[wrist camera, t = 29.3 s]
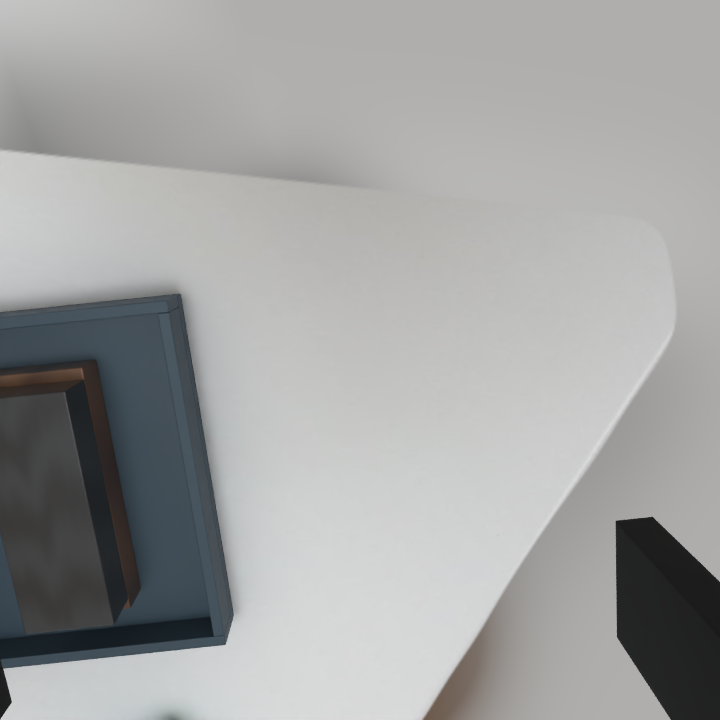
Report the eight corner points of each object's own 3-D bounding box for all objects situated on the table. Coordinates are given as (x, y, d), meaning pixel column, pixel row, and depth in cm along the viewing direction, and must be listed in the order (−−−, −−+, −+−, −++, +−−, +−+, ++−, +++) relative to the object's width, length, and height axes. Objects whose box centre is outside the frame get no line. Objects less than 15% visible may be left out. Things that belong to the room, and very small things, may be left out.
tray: (-100, 322, 44) (-137, 331, 41) (180, 293, 44) (167, 300, 41) (-14, 642, 50) (-40, 673, 46) (233, 615, 50) (225, 645, 46)
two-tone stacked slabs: (96, 359, 44) (-4, 369, 44) (62, 378, 39) (-53, 390, 38) (141, 588, 48) (49, 598, 48) (116, 635, 43) (12, 646, 43)
